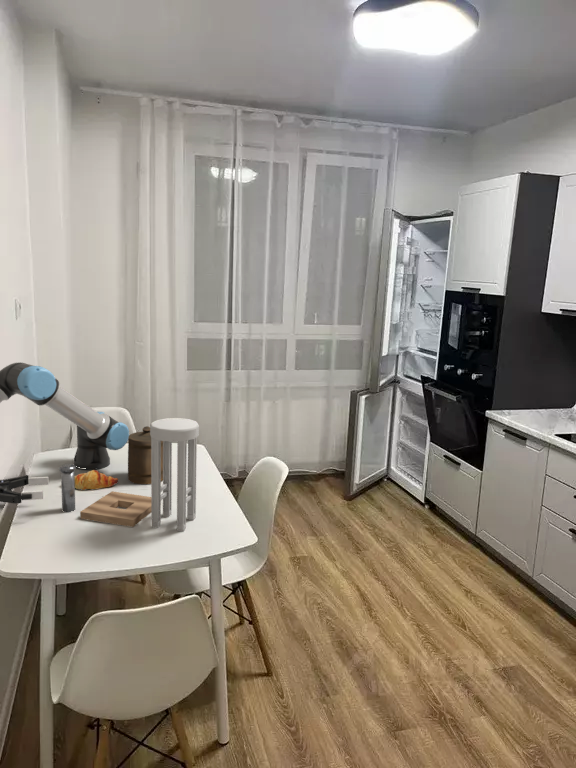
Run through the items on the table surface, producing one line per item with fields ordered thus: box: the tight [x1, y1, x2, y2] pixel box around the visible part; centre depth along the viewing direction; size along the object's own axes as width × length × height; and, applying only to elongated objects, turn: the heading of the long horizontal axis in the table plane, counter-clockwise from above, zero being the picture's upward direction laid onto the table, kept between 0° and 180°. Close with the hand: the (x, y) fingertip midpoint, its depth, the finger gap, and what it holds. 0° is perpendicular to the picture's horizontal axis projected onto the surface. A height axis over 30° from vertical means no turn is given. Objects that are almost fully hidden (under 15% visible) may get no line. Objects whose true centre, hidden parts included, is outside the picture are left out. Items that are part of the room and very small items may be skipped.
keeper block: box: [79, 491, 151, 528], centre depth 203 cm, size 20×20×2 cm
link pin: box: [59, 463, 77, 513], centre depth 201 cm, size 5×5×16 cm
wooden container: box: [127, 425, 163, 485], centre depth 234 cm, size 15×15×22 cm
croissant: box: [75, 469, 119, 491], centre depth 224 cm, size 21×10×8 cm, turn 98°
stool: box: [149, 417, 200, 532], centre depth 193 cm, size 16×16×35 cm
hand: (45, 487), depth 198 cm, fingers open, 13 cm apart
